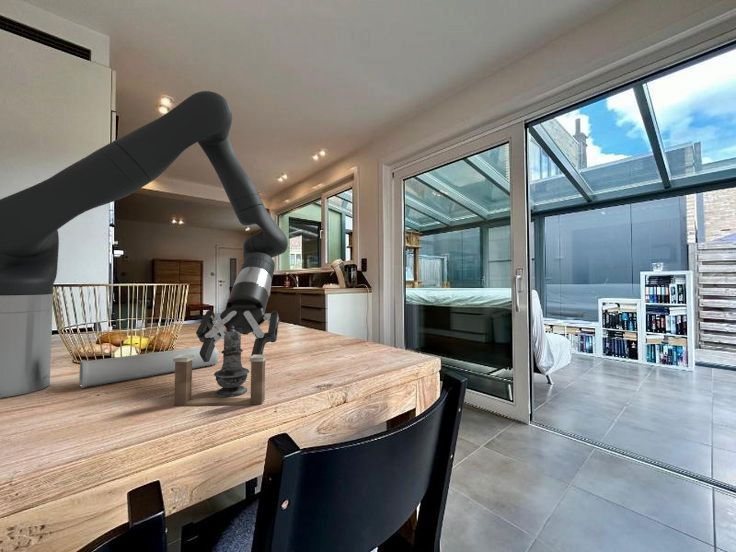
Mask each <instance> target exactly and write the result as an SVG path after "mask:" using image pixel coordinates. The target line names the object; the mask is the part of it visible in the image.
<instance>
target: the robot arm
mask: <svg viewBox="0 0 736 552" xmlns="http://www.w3.org/2000/svg"><path fill="white" fill-rule="evenodd" d="M232 121H233V111H232V108H231V105H230V102H228V100H227V99H226V98H225V97H224V96H222V95H221V94H219V93H217V92H214V91H212V90H211V91H209V90H203V91H202V90H201V91H198V92H195V93H193V94H192V95H190V96H189V97H187V98H186V99H184V100H182V102H180V103H179V104H177V105H176V106H175V107H174V108H172V109H171V110H169V111H168V112H166V113H165V114H163V115H161V116H160V117H158V118H156V119H154V120H152V121H150V122H149V123H147V124H144V125H142V126H141V127H139V128H137V129H135V130H133V131H131V132H130V133H128V134H126V135H124V136H121V137H119V138H117V139H115V140H113V141H112V142H109V143H107V144H106V145H104V146H102V147H100V148H98V149H96V150H95V151H92V153H90V154H88V155H87V156H85V157H84V158H83V157H82V159H80V160H77V161H76V162H74V163H72V164H71V165H69V166H67V167H65V168H64V169H62V170H60V171H59V172H57V173H56V174H54V175H52V176H50V177H49V178H46V179H45V180H42V181H41V182H39V183H36V184H34V185H32V186H30V187H26V188H25V189H23V190H19V191H18V192H16V193H12V194H10V195H8V196H5V197H3V198H0V399H1V398H8V397H14V396H15V397H16V396H20V395H24V394H28V393H29V394H30V393H33V392H36V391H39V390H43V389H45V388H47V387H49V386H50V384H51V367H52V362H51V361H52V336H53V335H52V333H53V303H54V302H53V300H54V299H53V297H54V296H53V295H54V294H53V293H54V285H55V281H56V279H57V275H58V263H59V251H60V250H59V247H60V246H59V245H60V242H59V241H60V237H59V231H58V230H59V229H61V228H62V227H64V226H65V225H66V224H68V223H69V222H70V221H72V220H73V219H75V218H77V217H78V216H81V214H84V213H85V212H88V211H90V210H93V209H96V208H98V207H99V208H100V207H101V206H104V205H107V204H110V203H114V202H117V201H118V200H119V201H120V200H121V199H123V198H126V197H128V196H130V195H132V194H134V193H135V192H137V191H139V190H141V189H142V188H144V187H145V186H147V185H149V184H151V182H153V181H155V180H156V179H157V178H158V177H160V176H161V175H162V174H163V173H164V172H165V171H166V170H167V169H168V168H169V167H170V166H171V165H172V164H173V163H174V162H175V161H176V160H177V159H178V157H179V156H181V154H182V153H183V152H185V151H186V150H187V149H188V148H190V147H191V146H193V145H194V144H197V143H198V144H199V147H200V148H201V149H202V151H203V152H204V154H205V155H206V157H207V159H208V160H209V162H210V164H211V165H212V167H213V169H214V171H215V173H216V174H217V176H218V179H219V181H220V183H221V185H222V187H223V189H224V191H225V193H226V196H227V198H228V200H229V203H230V204H231V208H232V210H233V211H234V213H235V215H236V218H237V220H238V222H239V223H240V224H241V225H242V226H254V225H257V226H258V227H259V228H260V229H261V231H259V232H256V233H254V234H251V235H250V236H249V237H247V238H246V240H244V243H243V246H242V249H243V250H242V251H243V253H242V254H243V263H242V266H241V268H240V271H239V273H238V275H237V277H236V279H235V280H234V281H235V282H234V284H233V286H232V288H231V292H230V294H229V297H228V299H227V302H226V306H225V308H224V310H223V311H222V312H221V313H220V312H219V313H218V312H214V310H213V309H208V310H207V311H206V312H205V314H204V316H203V318H202V320H201V322H200V324H199V326H198V327H197V330H196V332H195V334H196V337H197V338H198V340H199V342H201V343H202V345H201V347H202V348H201V350H200V356H201V358H202V359H203V361H204V362H209V361H210V358H211V355H212V353H213V350H214V347H215V346H216V345H215V344H216V343H218V342H219V341H220V340H224V335H225V333H227V332H228V331H230V330H231V327H232V326H234V330H236V331H238V332H239V333H240V334H241V335H244V336H245V335H249V334H250V333H252V335H253V336H254V337H255V340H254V342H253V346H252V350H251V355H250V357H251V356H253V355H264V354H263V353H264V348H265V346H266V345H267V344H268V343H270V342H271V343H276V342H277V337H278V331H279V325H280V317H279V313H278V310H276V309H275V310H272V311H271V312H270V313H267V312H266V308H267V305H268V302H269V298H270V296H271V289H272V281H273V277H274V273H275V269H276V267H275V266H276V263H275V261H274V259H273V258H275V257H278V256H281V255H282V254H284V253H285V252H286V251H287V249H288V244H289V242H288V239H287V236H286V234H285V233H284V231H283V229H282V228H281V227H280V226H279V225H278V224H277V223H276V221H275V220H274V219H273V216H271V214H269V212H268V211H267V209H266V207H265V204H264V202H263V200H262V198H261V195H260V193H259V192H258V189H257V187H256V185H255V184H254V182H253V180H252V179H251V177H250V175H249V174H248V173H247V171H246V170H245V169H244V167H242V165H241V163H240V160H239V159H238V157H237V156H236V153H235V151H234V148H233V145H232V141H231V138H230V134H229V133H230V131H231V127H232ZM265 321H267V324H268V330H267V332H263V330H262V329H261V327H260V326H261V325H262V324H263V323H264V322H265ZM224 327H225V329H224ZM215 348H216V347H215Z"/></svg>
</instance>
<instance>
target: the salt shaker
mask: <svg viewBox="0 0 736 552" xmlns="http://www.w3.org/2000/svg"><path fill="white" fill-rule="evenodd" d="M241 340H242V334H240V333H239V332H238V331H236V330H234V326H232V327H231V330H230V331H228V332H227V333H225V335H224V339H223V350H222V351H221V353H222V356H223V357H222V361H223V362H222V366H221V368H220V369H219V370H216V371H215V372H214V374H213V376H214V377H215V381H216V382H217V385H218V386H219V387H221V388H220V389H218V390H216V391H215V396H217V397H218V398H235V397H238V396H241V395H244V394H246V393H247V392H248V388H247V387H245V386H244V385H243V384H244V383H245V382H246V380H247V379H248V374H249V373H250V370H249V368H247V367H245V368H244V367H243V365H242V352H243V351H244V350H243V349H242V348H241V347H242V345H241V344H242V343H241Z"/></svg>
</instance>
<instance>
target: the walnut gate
mask: <svg viewBox="0 0 736 552" xmlns="http://www.w3.org/2000/svg"><path fill="white" fill-rule="evenodd" d="M267 357H268V355H267V354H262V355H253V356H251V355H250V357H249V362H250V397H215V398H214V397H207V398H205V397H203V398H201V397H195V398H192V387H193V386H192V384H193V383H192V382H193V369H192V359H194V355H179V356H177V357H175V358H173V362H175V372H174V395H173V396H174V399H173V403H174V404H173V405H174V406H242V405H243V406H244V405H245V406H246V405H249V406H250V405H263V403H264V402H265V400H266V399H265V397H266V396H265V394H266V393H265V392H266V390H265V389H266V388H265V387H266V359H267Z"/></svg>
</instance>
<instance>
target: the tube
mask: <svg viewBox="0 0 736 552" xmlns="http://www.w3.org/2000/svg"><path fill="white" fill-rule="evenodd" d="M201 348H202V346H200V347H199V346H198V347H190V348H189V347H188V348H181V349H176V350H175V349H174V350H167V351H166V350H165V351H160V352H159V351H157V352H151V353H150V352H149V353H142V354H133V355H132V354H131V355H125V356H118V357H117V356H116V357H108V358H100V359H93V360H86V359H82V360H80V364H79V375H78V376H79V378H78V379H79V386H80V385H82V386H81V388H83V389H86V388H90V387H89V386H91V387H96V386H95V385H97V386H101V385H102V384H103V385H106V384H107V385H108V383H109V384H112V383H114V384H115V383H119V382H120V383H121V382H124V381H130V380H135V379H143V378H148V377H155V376H159V375H160V374H161V375H165V373H166V374H170V373H171V372H172V373H175V362H173V358H175V357H177V356H179V355H194V359H192V370H196V369H200V367H201V368H205V366H207V367H211V366H210V365H212V366H215V365H216V364H218V362H219V357H220V352H219V350H218V349H217V347H214V350H213V353H212V355H211V358H210V361H209V362H204V361H203V359H202V358H201V356H200V350H201ZM214 364H215V365H214ZM154 375H155V376H154ZM85 387H86V388H85ZM81 388H80V389H81Z"/></svg>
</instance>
